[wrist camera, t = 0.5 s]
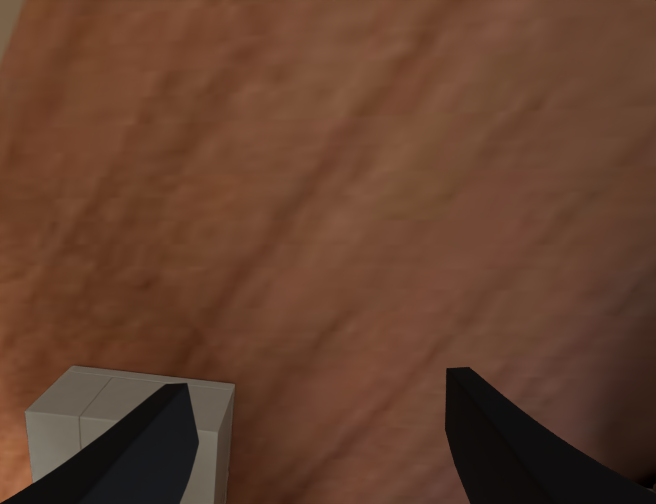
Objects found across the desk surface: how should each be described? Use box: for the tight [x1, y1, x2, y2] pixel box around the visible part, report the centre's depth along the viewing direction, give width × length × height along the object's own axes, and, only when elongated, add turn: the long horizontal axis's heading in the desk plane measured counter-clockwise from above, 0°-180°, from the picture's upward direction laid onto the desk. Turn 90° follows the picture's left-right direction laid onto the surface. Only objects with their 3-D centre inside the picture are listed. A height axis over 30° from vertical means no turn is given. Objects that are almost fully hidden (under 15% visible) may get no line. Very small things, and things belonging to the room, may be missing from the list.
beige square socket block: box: [25, 365, 235, 504], centre depth 23 cm, size 9×9×4 cm
